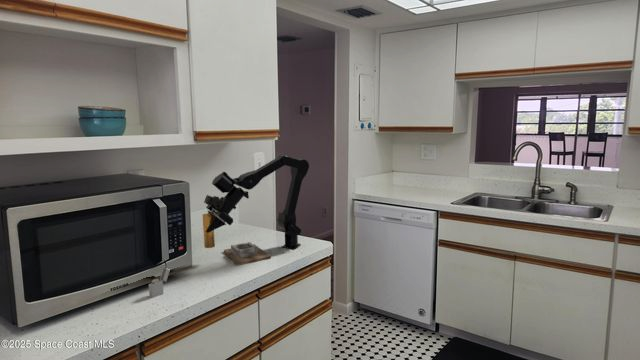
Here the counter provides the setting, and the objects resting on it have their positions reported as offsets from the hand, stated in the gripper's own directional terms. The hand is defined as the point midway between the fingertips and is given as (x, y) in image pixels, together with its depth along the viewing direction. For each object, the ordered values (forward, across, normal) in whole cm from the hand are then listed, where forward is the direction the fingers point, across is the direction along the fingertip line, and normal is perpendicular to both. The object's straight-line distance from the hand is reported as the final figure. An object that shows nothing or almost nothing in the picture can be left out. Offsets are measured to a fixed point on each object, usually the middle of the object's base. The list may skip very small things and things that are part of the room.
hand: (205, 230), depth 157 cm
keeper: (-2, 0, +20) cm, 20 cm away
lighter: (+24, +20, -5) cm, 32 cm away
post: (+4, 0, +6) cm, 7 cm away
